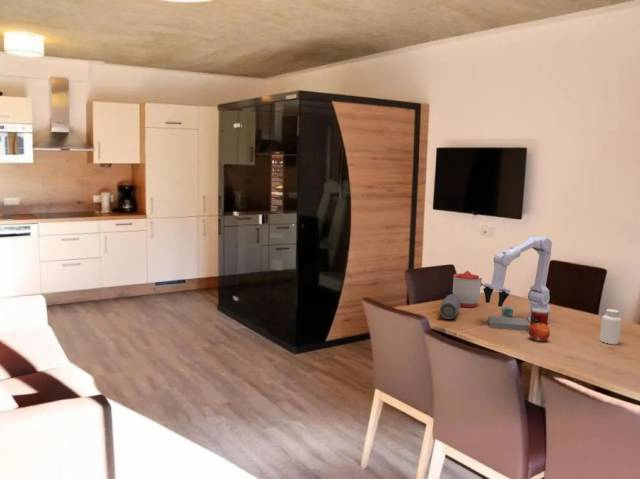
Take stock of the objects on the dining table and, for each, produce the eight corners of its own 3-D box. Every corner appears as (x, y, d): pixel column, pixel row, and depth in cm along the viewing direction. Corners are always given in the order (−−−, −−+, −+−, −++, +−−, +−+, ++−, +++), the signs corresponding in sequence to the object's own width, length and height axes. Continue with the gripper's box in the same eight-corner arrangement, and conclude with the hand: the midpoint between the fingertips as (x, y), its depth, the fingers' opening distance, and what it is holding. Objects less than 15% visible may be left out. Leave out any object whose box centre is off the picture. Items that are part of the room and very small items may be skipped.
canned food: (546, 331, 273) (548, 309, 271) (547, 335, 265) (549, 312, 264) (529, 329, 275) (531, 307, 274) (529, 333, 268) (531, 310, 266)
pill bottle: (618, 346, 253) (621, 313, 251) (598, 342, 257) (601, 310, 255) (619, 341, 260) (623, 310, 258) (600, 338, 264) (603, 307, 262)
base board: (524, 323, 285) (525, 318, 285) (528, 330, 272) (529, 325, 272) (487, 320, 288) (488, 315, 288) (490, 327, 276) (490, 322, 275)
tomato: (551, 343, 252) (552, 326, 251) (529, 341, 254) (531, 324, 253) (547, 337, 261) (548, 321, 260) (526, 335, 263) (527, 319, 262)
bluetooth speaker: (457, 322, 282) (458, 303, 281) (438, 320, 285) (439, 301, 284) (460, 312, 304) (462, 294, 303) (443, 310, 307) (444, 292, 306)
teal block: (511, 318, 295) (512, 307, 294) (512, 320, 290) (513, 309, 289) (501, 317, 296) (502, 306, 295) (502, 319, 291) (503, 308, 290)
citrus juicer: (485, 309, 312) (488, 273, 310) (454, 308, 312) (457, 272, 310) (478, 302, 328) (481, 268, 325) (448, 301, 328) (450, 267, 325)
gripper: (481, 274, 281) (476, 300, 281) (505, 280, 269) (500, 307, 270) (490, 275, 285) (485, 301, 286) (514, 281, 273) (509, 308, 274)
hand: (493, 304), depth 278 cm, fingers open, 7 cm apart
